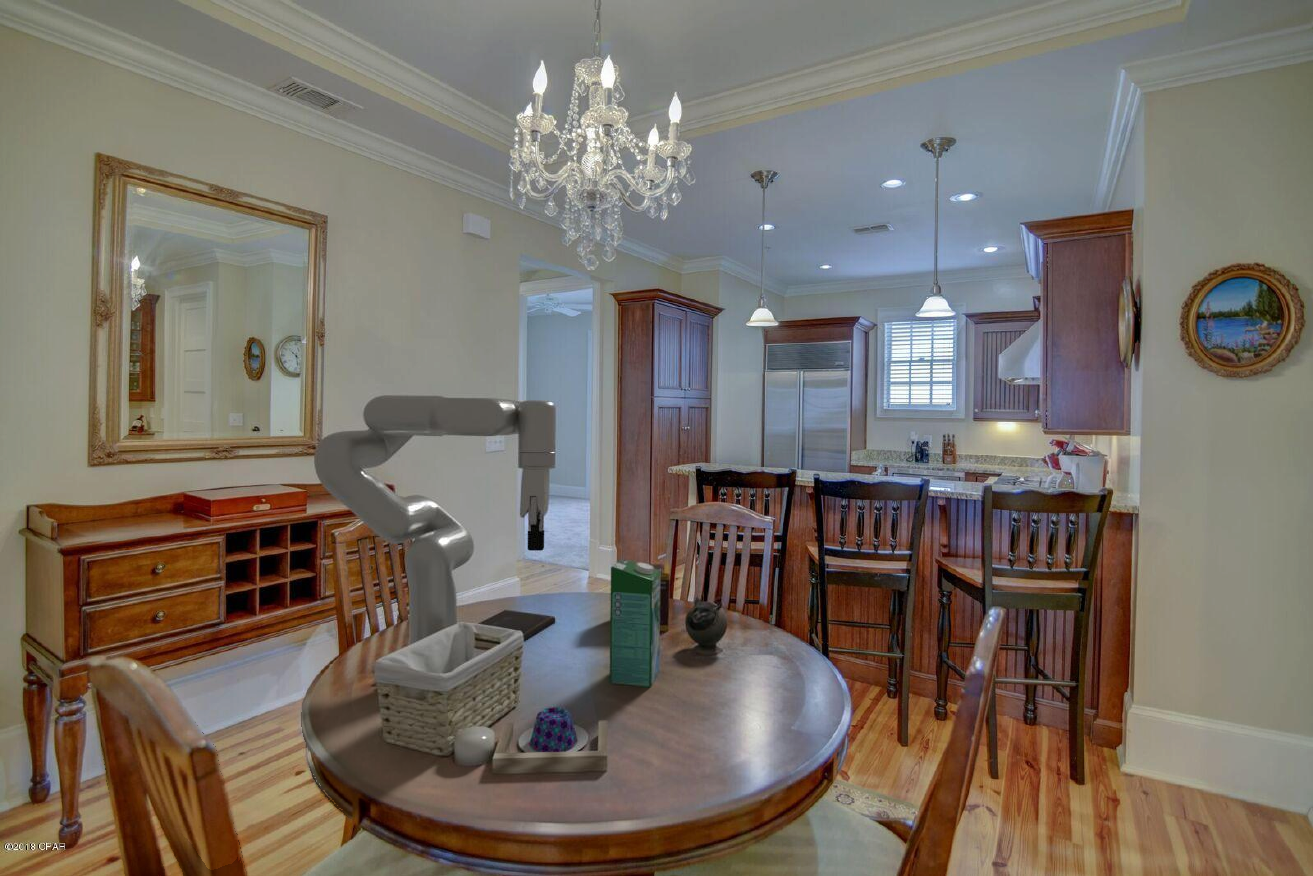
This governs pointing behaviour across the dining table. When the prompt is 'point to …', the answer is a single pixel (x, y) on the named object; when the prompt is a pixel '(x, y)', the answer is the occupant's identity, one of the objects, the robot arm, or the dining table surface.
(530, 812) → the dining table surface
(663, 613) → the supplement box
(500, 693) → the storage basket
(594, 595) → the dining table surface
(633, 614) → the milk carton
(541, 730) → the pudding
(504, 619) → the hardcover book
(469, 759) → the egg
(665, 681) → the dining table surface
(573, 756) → the display stand
